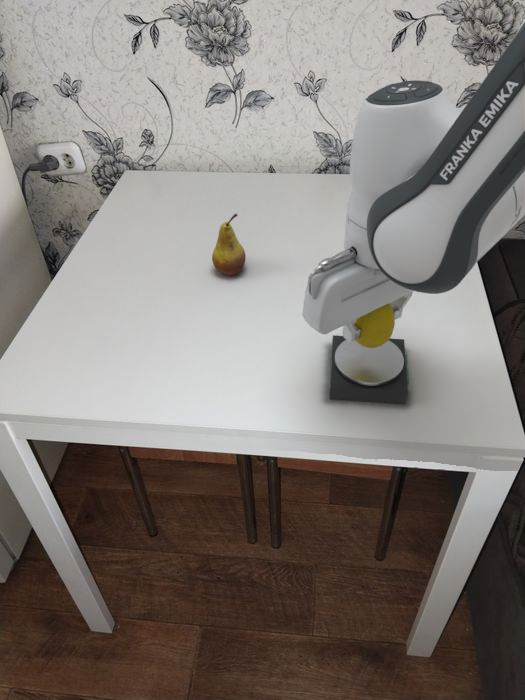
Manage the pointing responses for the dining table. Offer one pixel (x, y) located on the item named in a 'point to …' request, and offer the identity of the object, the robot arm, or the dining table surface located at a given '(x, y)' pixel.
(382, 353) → the scale pan
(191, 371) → the dining table surface
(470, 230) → the robot arm
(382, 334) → the lemon
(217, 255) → the fruit
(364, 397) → the scale
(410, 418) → the dining table surface
